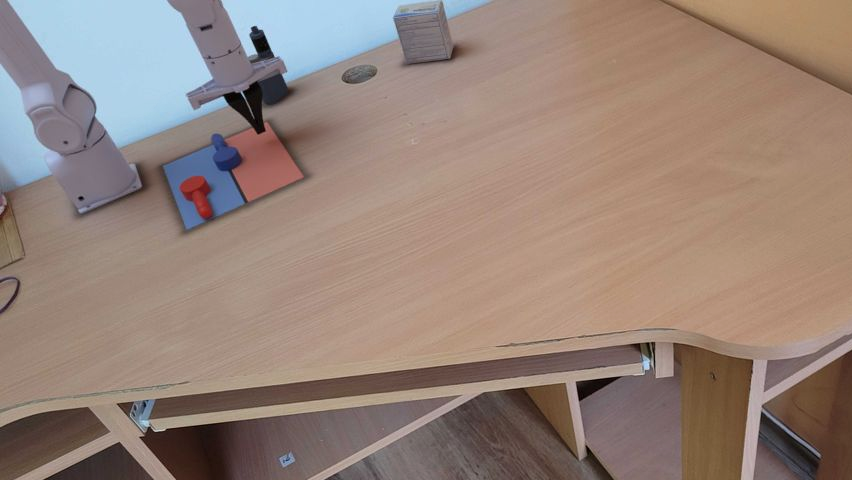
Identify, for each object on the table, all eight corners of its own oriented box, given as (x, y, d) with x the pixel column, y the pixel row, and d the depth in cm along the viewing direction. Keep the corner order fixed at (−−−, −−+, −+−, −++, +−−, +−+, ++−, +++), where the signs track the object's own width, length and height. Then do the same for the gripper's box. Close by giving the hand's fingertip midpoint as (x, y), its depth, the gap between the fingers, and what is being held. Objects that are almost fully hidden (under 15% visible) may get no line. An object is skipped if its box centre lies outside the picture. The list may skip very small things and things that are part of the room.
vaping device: (292, 90, 123) (264, 24, 114) (271, 106, 120) (241, 40, 112) (282, 88, 124) (253, 23, 116) (261, 104, 121) (230, 38, 113)
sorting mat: (187, 230, 98) (186, 229, 98) (163, 167, 112) (162, 165, 112) (304, 177, 103) (303, 176, 103) (267, 122, 116) (266, 121, 116)
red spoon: (222, 214, 99) (216, 204, 98) (196, 226, 98) (190, 216, 97) (207, 181, 106) (202, 172, 105) (183, 192, 105) (177, 182, 104)
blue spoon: (207, 146, 114) (201, 136, 112) (229, 136, 115) (224, 127, 113) (220, 174, 107) (215, 164, 106) (244, 164, 108) (239, 154, 107)
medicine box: (454, 47, 124) (442, -2, 118) (450, 60, 121) (438, 10, 115) (410, 52, 125) (397, 4, 119) (406, 65, 122) (392, 16, 116)
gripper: (176, 78, 96) (221, 161, 105) (277, 38, 99) (311, 121, 109) (167, 60, 100) (211, 141, 110) (263, 23, 104) (298, 104, 113)
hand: (260, 130), depth 110 cm, fingers closed
